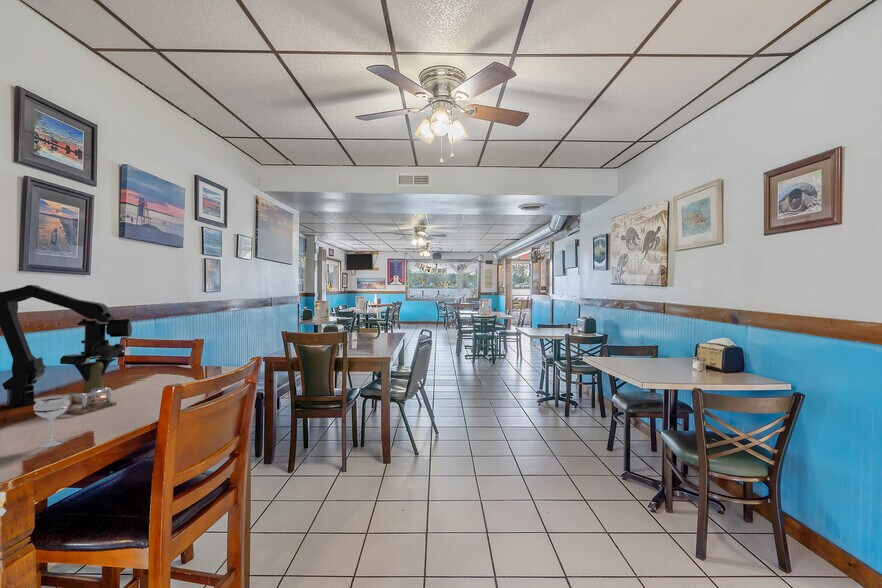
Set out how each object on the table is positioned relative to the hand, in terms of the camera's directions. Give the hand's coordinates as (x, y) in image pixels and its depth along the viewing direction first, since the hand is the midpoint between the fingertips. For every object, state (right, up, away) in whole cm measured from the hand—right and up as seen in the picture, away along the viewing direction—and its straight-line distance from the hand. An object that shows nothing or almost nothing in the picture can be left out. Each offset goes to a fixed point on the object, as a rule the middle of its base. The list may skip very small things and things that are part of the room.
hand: (93, 379), depth 142 cm
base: (+8, -7, -11) cm, 16 cm away
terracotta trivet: (0, -7, 0) cm, 7 cm away
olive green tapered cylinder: (0, -5, 0) cm, 5 cm away
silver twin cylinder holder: (+8, -7, -11) cm, 16 cm away
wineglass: (+26, -8, -41) cm, 49 cm away
